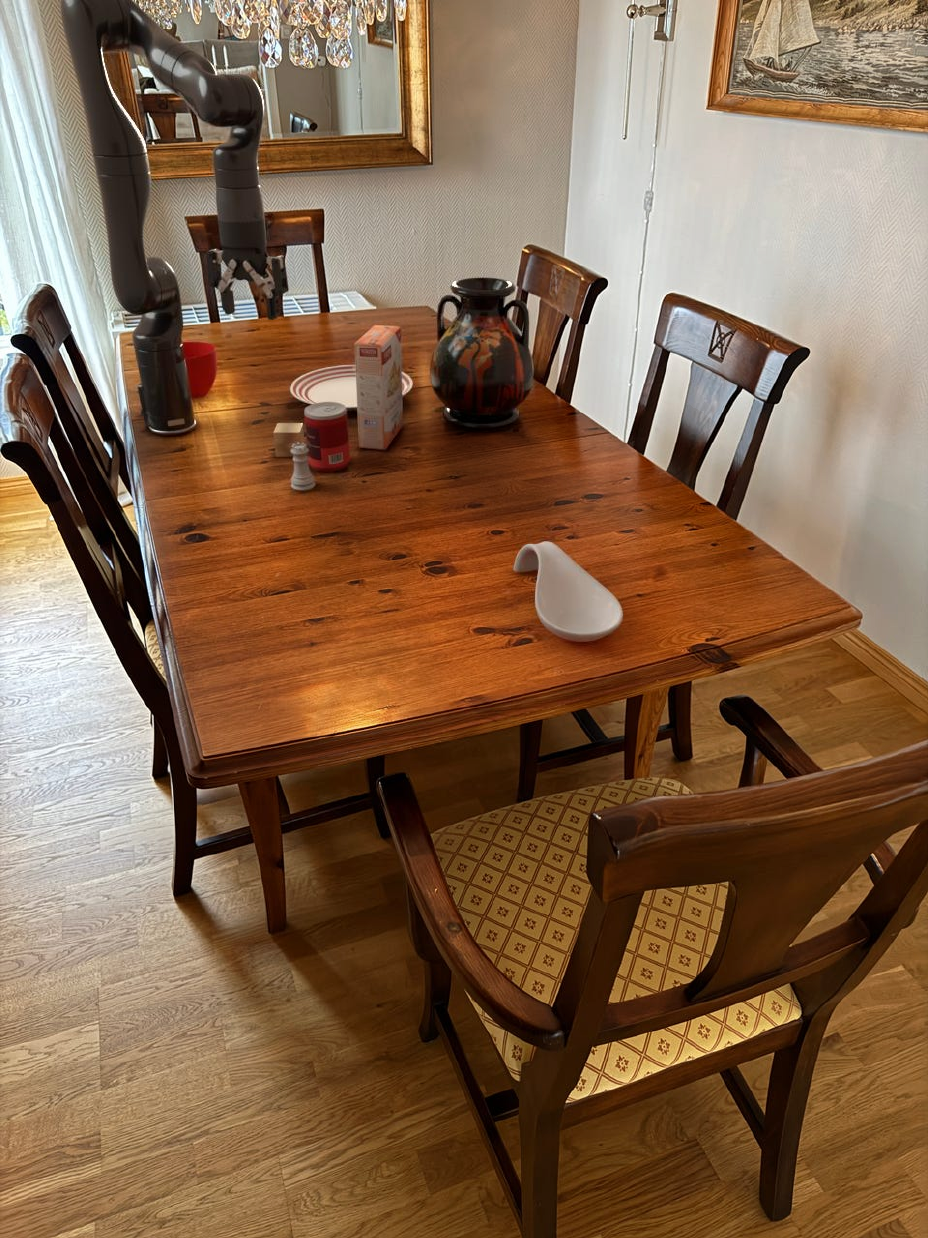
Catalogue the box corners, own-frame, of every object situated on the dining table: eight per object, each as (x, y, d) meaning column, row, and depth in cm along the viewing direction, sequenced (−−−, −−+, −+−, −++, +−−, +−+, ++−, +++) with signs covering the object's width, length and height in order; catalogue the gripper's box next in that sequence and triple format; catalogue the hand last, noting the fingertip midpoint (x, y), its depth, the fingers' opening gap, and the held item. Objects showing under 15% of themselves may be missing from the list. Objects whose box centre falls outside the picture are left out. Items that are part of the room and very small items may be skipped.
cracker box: (387, 451, 177) (382, 345, 165) (358, 449, 178) (351, 342, 166) (405, 426, 188) (402, 325, 177) (377, 424, 189) (372, 323, 178)
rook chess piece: (291, 482, 164) (287, 440, 160) (316, 481, 165) (312, 440, 160) (290, 492, 161) (285, 450, 156) (315, 491, 161) (311, 449, 157)
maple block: (276, 456, 174) (273, 432, 172) (280, 446, 178) (277, 422, 176) (301, 456, 174) (299, 432, 172) (305, 446, 179) (302, 422, 176)
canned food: (357, 459, 173) (353, 404, 167) (339, 475, 167) (334, 418, 161) (321, 453, 175) (316, 399, 169) (302, 469, 169) (296, 413, 163)
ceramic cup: (237, 380, 213) (231, 338, 207) (208, 404, 199) (201, 359, 193) (186, 377, 214) (179, 335, 209) (153, 401, 200) (145, 356, 195)
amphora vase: (417, 433, 185) (413, 292, 170) (447, 399, 202) (446, 268, 187) (519, 444, 180) (525, 300, 165) (540, 408, 198) (547, 275, 182)
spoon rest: (636, 644, 121) (642, 599, 117) (557, 662, 117) (560, 616, 113) (559, 563, 139) (562, 522, 135) (489, 576, 136) (490, 534, 132)
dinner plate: (384, 425, 189) (383, 410, 187) (269, 410, 196) (267, 395, 194) (430, 385, 210) (430, 371, 209) (324, 373, 218) (323, 359, 216)
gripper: (290, 215, 149) (298, 315, 158) (216, 208, 152) (227, 306, 161) (267, 223, 143) (276, 326, 152) (190, 215, 146) (204, 316, 155)
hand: (251, 315), depth 156 cm, fingers open, 8 cm apart
